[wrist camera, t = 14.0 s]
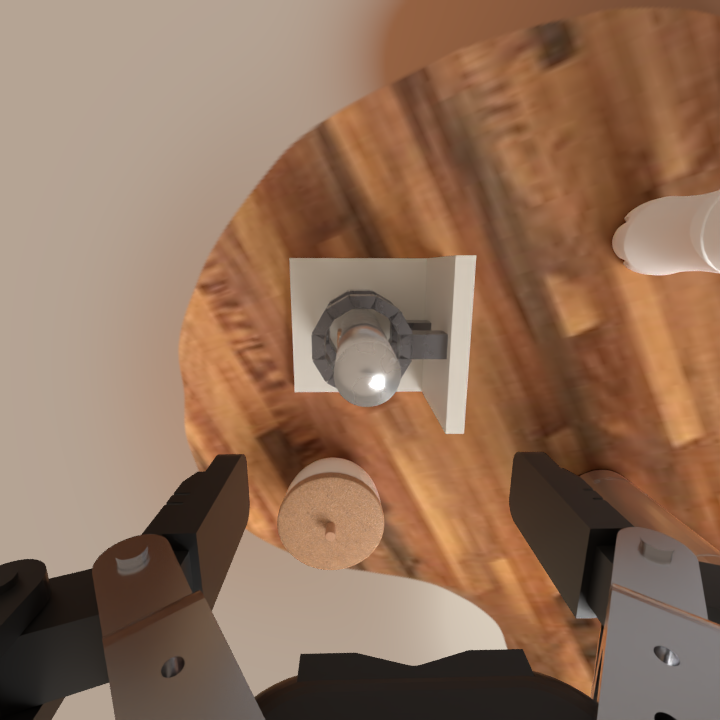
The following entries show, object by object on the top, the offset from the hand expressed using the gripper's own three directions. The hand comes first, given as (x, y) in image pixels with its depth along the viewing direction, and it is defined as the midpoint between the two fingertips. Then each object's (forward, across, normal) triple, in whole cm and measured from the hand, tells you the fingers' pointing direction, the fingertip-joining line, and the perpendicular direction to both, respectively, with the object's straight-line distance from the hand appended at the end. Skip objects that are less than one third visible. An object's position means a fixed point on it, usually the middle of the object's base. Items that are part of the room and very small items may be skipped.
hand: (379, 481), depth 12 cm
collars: (+28, -2, 0) cm, 28 cm away
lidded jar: (+32, +3, +19) cm, 37 cm away
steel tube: (+30, 0, 0) cm, 30 cm away
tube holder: (+31, 0, 0) cm, 31 cm away
